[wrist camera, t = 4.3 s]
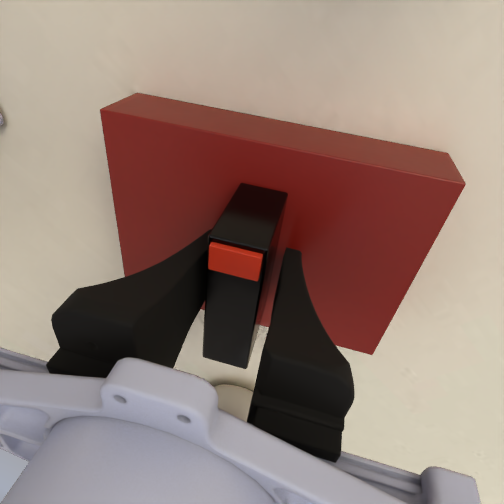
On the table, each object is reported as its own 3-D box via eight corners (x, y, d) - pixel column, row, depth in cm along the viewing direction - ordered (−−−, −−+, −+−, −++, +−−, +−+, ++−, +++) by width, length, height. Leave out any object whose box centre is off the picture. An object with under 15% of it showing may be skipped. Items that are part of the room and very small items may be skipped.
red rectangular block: (150, 258, 22) (126, 289, 20) (136, 92, 16) (99, 109, 14) (370, 314, 21) (372, 355, 18) (449, 152, 14) (466, 183, 12)
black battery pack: (266, 304, 18) (245, 375, 15) (228, 294, 18) (199, 362, 15) (288, 192, 14) (267, 254, 11) (240, 181, 14) (204, 239, 11)
